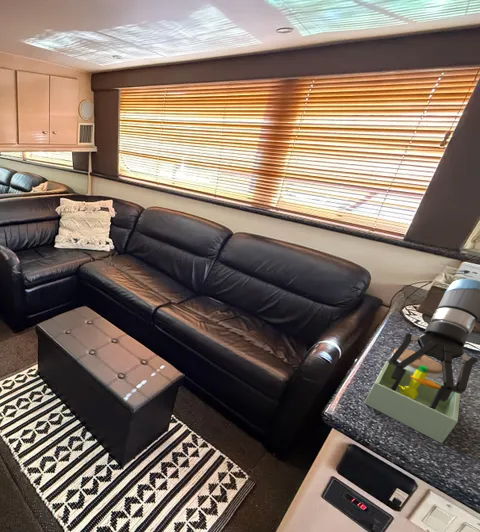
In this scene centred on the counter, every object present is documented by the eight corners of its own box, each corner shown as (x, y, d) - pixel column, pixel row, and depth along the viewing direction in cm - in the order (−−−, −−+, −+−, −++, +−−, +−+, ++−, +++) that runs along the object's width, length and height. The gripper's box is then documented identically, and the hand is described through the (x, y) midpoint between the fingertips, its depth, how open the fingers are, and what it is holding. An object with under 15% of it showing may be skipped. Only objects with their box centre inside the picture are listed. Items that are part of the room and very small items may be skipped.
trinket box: (425, 397, 91) (442, 370, 87) (378, 374, 99) (392, 349, 96) (433, 384, 97) (449, 359, 93) (388, 364, 105) (401, 340, 101)
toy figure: (424, 409, 84) (448, 373, 80) (423, 415, 82) (447, 379, 78) (391, 393, 89) (412, 359, 85) (389, 399, 87) (410, 363, 83)
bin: (446, 411, 86) (460, 391, 84) (441, 443, 75) (457, 421, 73) (376, 379, 97) (386, 360, 94) (363, 403, 86) (375, 382, 83)
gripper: (498, 353, 82) (461, 429, 78) (397, 318, 96) (362, 380, 92) (512, 342, 77) (473, 423, 73) (403, 306, 90) (366, 372, 86)
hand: (411, 399), depth 82 cm, fingers closed on toy figure, 7 cm apart
